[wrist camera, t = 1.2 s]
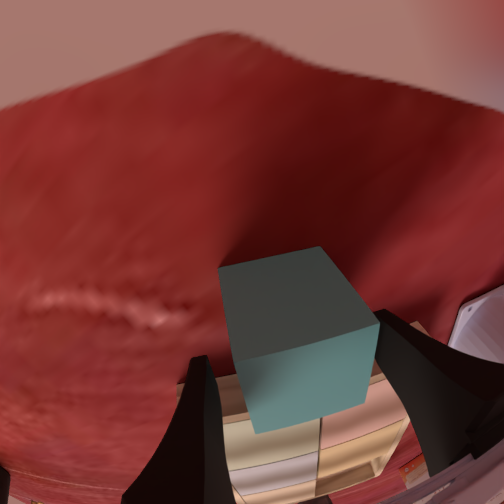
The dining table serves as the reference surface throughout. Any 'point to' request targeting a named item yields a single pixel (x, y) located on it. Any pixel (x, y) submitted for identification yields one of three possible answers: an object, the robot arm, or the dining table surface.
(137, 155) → the dining table surface
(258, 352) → the teal block
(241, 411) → the puzzle board
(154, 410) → the dining table surface
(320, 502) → the beverage cup
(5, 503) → the pen holder
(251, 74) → the dining table surface
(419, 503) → the cracker box
